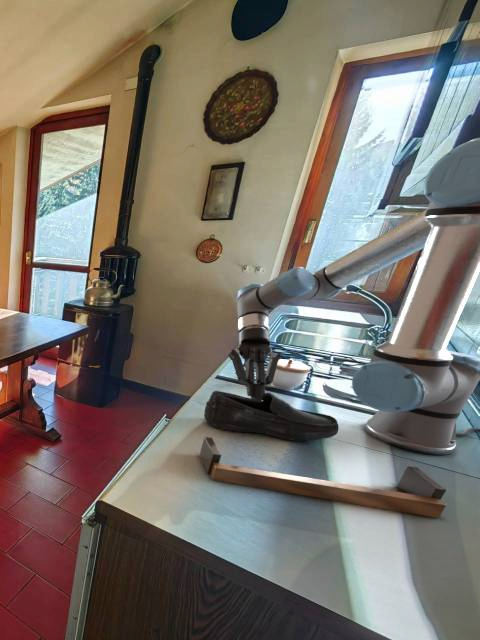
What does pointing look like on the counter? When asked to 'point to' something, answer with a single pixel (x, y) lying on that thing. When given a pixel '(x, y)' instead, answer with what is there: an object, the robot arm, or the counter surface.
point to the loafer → (267, 417)
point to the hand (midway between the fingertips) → (256, 407)
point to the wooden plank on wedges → (334, 486)
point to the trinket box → (289, 374)
